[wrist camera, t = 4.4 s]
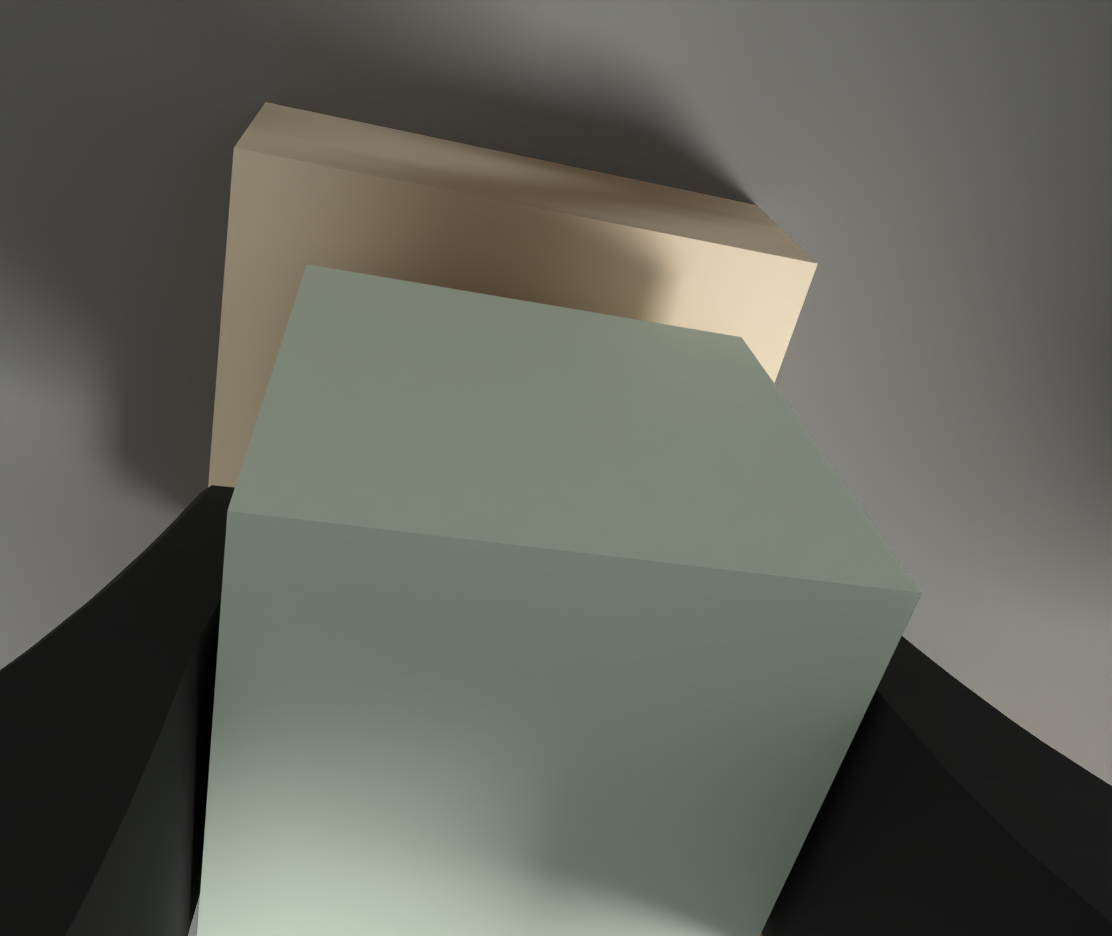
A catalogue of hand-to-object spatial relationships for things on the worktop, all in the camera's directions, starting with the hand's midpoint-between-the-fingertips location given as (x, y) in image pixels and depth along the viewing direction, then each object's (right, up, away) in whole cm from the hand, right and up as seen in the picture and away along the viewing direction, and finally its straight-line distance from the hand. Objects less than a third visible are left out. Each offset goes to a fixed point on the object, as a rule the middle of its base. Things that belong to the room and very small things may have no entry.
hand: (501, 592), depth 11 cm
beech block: (-1, +3, +5) cm, 6 cm away
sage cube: (0, +1, +2) cm, 2 cm away
